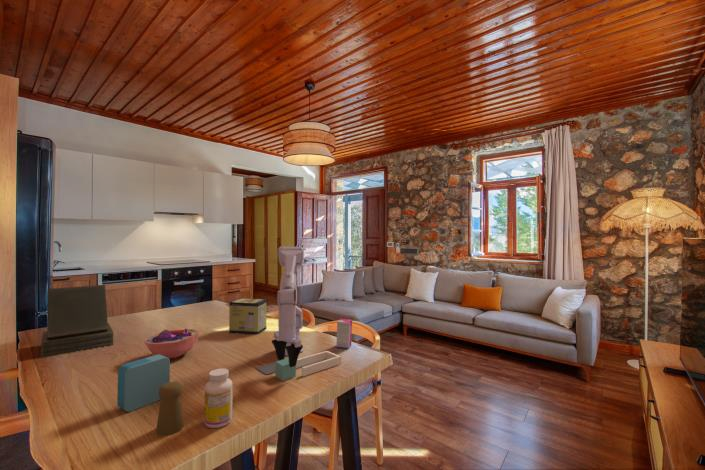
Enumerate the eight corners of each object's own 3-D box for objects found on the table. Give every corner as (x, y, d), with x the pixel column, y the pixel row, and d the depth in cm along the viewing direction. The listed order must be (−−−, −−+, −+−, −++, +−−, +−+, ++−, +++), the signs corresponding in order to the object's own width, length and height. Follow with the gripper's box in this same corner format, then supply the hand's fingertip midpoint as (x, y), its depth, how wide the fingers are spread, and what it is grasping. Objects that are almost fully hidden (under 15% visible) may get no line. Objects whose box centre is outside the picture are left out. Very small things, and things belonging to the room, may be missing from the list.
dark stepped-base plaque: (40, 358, 128) (41, 294, 128) (42, 346, 142) (43, 288, 143) (113, 346, 143) (114, 288, 143) (108, 335, 158) (109, 283, 158)
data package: (161, 392, 100) (162, 352, 100) (169, 396, 98) (170, 355, 98) (116, 409, 90) (117, 365, 90) (124, 414, 88) (125, 369, 88)
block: (275, 376, 113) (275, 361, 113) (288, 372, 116) (288, 358, 116) (282, 380, 109) (282, 365, 109) (295, 376, 112) (295, 362, 112)
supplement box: (349, 349, 141) (349, 322, 141) (335, 348, 142) (336, 321, 142) (352, 345, 146) (352, 319, 146) (339, 344, 147) (339, 318, 148)
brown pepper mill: (189, 424, 83) (189, 380, 83) (168, 438, 77) (169, 391, 78) (171, 419, 85) (171, 377, 85) (149, 432, 79) (150, 387, 80)
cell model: (208, 351, 136) (209, 324, 136) (163, 369, 118) (163, 337, 118) (180, 345, 143) (181, 319, 143) (133, 361, 125) (134, 331, 125)
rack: (290, 369, 119) (290, 361, 119) (327, 357, 130) (327, 350, 130) (303, 376, 113) (303, 368, 113) (341, 363, 124) (341, 356, 124)
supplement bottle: (211, 414, 88) (212, 366, 88) (236, 415, 88) (236, 366, 88) (199, 429, 81) (199, 376, 81) (225, 429, 81) (226, 377, 81)
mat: (255, 368, 119) (255, 367, 119) (275, 362, 125) (275, 362, 125) (266, 375, 113) (266, 374, 113) (286, 369, 119) (286, 368, 119)
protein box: (238, 327, 173) (238, 298, 173) (266, 329, 171) (267, 299, 171) (228, 333, 162) (228, 301, 163) (258, 334, 160) (258, 303, 160)
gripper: (266, 321, 116) (265, 360, 116) (288, 329, 105) (287, 372, 105) (283, 318, 121) (283, 355, 120) (306, 325, 110) (306, 366, 110)
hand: (286, 363), depth 113 cm, fingers open, 7 cm apart
